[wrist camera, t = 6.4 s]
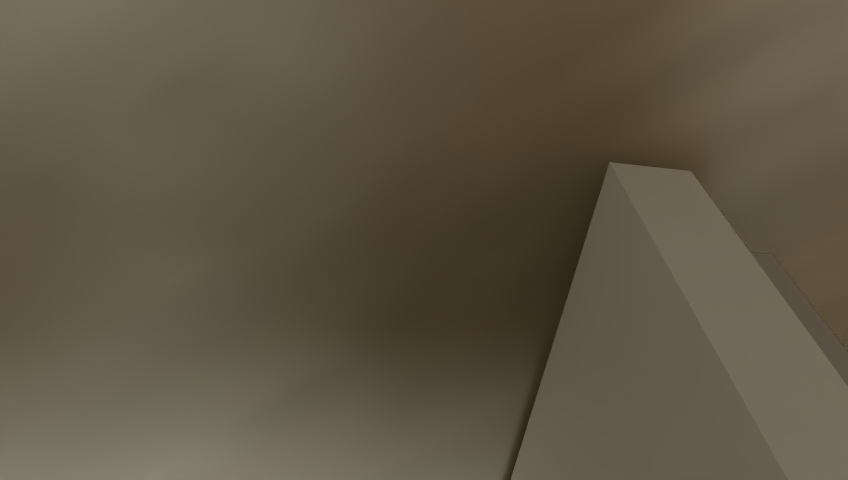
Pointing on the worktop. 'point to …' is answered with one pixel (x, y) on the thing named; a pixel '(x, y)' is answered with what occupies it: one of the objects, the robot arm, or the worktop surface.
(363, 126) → the worktop surface
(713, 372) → the camera door
